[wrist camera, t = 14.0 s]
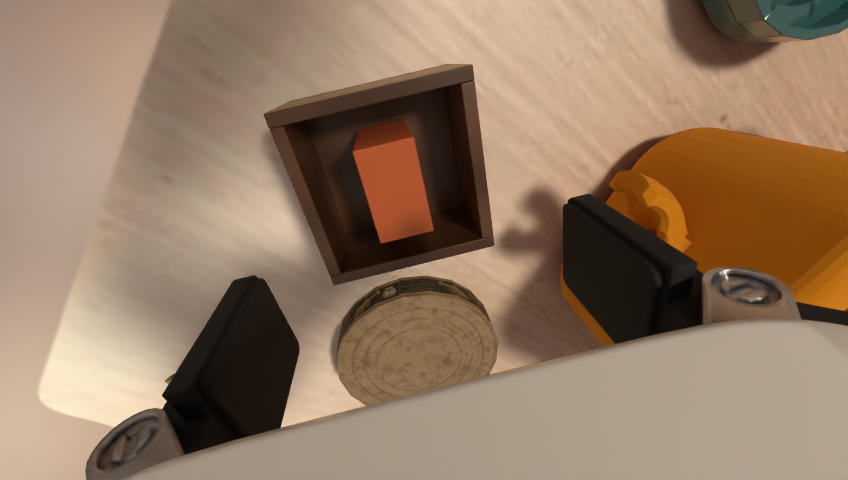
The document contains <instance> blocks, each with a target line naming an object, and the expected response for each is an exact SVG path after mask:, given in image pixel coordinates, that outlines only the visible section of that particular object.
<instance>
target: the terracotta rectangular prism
mask: <svg viewBox="0 0 848 480" xmlns="http://www.w3.org/2000/svg"><path fill="white" fill-rule="evenodd" d="M353 155H354V159H355V162H356V165H357V168H358V172H359V175H360V178H361V181H362V185H363V188H364V191H365V194H366V198H367V201H368V204H369V207H370V211H371V214H372V217H373V220H374V224H375V227H376V230H377V233H378V237H379V240H380V243H386V242H390V241H394V240H398V239H402V238H406V237H410V236H414V235H418V234H422V233H426V232H430V231H433V230H434V228H433V223H432V219H431V214H430V209H429V205H428V200H427V195H426V191H425V186H424V182H423V177H422V172H421V168H420V163H419V158H418V154H417V149H416V144H415V140H414V137H413V135H412V133H411V131H410V130H409V128H408V126H407V124H406V122H405V120H404V119H400V120H396V121H391V122H387V123H383V124H379V125H375V126H371V127H366V128H362V129H358V130H357V135H356V139H355V144H354V148H353Z"/></svg>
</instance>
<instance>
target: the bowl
mask: <svg viewBox="0 0 848 480" xmlns="http://www.w3.org/2000/svg"><path fill="white" fill-rule="evenodd" d="M701 1H702V3H703V5H704V7H705V9H706V11H707V13H708V15H709V17H710V19H711V21H712V23H713V24H714V26H715V27H716V28H718V29H719V30H720V31H722V32H723V33H724V34H726V35H727V36H728V37H730V38H731V39H733V40H739V41H745V42H752V43H763V42H784V41H804V40H812V39H816V38H820V37H824V36H828V35H832V34H837V33H839V32H841V31H843V30H845V29H847V28H848V0H701Z"/></svg>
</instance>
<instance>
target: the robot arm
mask: <svg viewBox="0 0 848 480" xmlns="http://www.w3.org/2000/svg"><path fill="white" fill-rule="evenodd" d="M697 264H698V262H696V261H695V260H693V259H692V258H690V257H689V256H687V255H685V254H684V253H682V252H681V251H679V250H678V249H676V248H674V247H673V246H671V245H670V244H668V243H667V242H665V241H663V240H662V239H660V238H659V237H657V236H656V235H654V234H652V233H651V232H649V231H648V230H646V229H645V228H643V227H642V226H640V225H638V224H637V223H635V222H634V221H632V220H631V219H629V218H627V217H626V216H624V215H623V214H621V213H620V212H618V211H616V210H615V209H613V208H612V207H610V206H609V205H607V204H605V203H604V202H602V201H601V200H599V199H598V198H596V197H594V196H593V195H591V194H586V195H582V196H578V197H573V198H570V199H569V200H568V204H565V205H564V206H563V279H564V282H565V284H566V286H567V287H568V288H569V289H570V291H571V292H572V293H573V294H574V295H575V297H576V298H577V299H578V300H579V301H580V303H581V304H582V305H583V306H584V307H585V309H586V310H587V311H588V312H589V313H590V314H591V316H592V317H593V318H594V319H595V320H596V322H597V323H598V324H599V325H600V326H601V328H602V329H603V330H604V331H605V332H606V334H607V335H608V336H609V337H610V338H611V340H612V341H613V342H614V343H615V344H614V345H609V346H605V347H601V348H597V349H593V350H589V351H585V352H581V353H576V354H572V355H568V356H564V357H560V358H556V359H552V360H548V361H544V362H540V363H536V364H532V365H528V366H523V367H519V368H515V369H511V370H507V371H503V372H499V373H495V374H491V375H487V376H483V377H479V378H475V379H471V380H467V381H463V382H459V383H455V384H451V385H447V386H443V387H439V388H435V389H431V390H427V391H423V392H419V393H415V394H411V395H407V396H403V397H400V398H396V399H392V400H388V401H384V402H380V403H376V404H372V405H368V406H364V407H360V408H356V409H353V410H349V411H345V412H341V413H337V414H333V415H329V416H325V417H321V418H318V419H314V420H310V421H306V422H302V423H298V424H294V425H290V426H286V427H283V428H280V427H281V423H282V419H283V415H284V411H285V407H286V403H287V399H288V395H289V391H290V387H291V383H292V379H293V375H294V371H295V367H296V363H297V359H298V355H299V343H298V340H297V338H296V337H295V335H294V333H293V331H292V329H291V327H290V325H289V324H288V322H287V320H286V318H285V316H284V314H283V312H282V311H281V309H280V307H279V305H278V303H277V301H276V299H275V298H274V296H273V294H272V292H271V290H270V288H269V286H268V285H267V283H266V281H265V280H264V279H262V278H260V279H259V278H258V277H257V276H255V275H253V276H249V277H245V278H240V279H236V280H234V281H233V282H232V283H231V285H230V287H229V288H228V290H227V291H226V293H225V295H224V296H223V298H222V299H221V301H220V303H219V304H218V306H217V308H216V309H215V311H214V312H213V314H212V316H211V317H210V319H209V320H208V322H207V324H206V325H205V327H204V328H203V330H202V332H201V333H200V335H199V336H198V338H197V340H196V341H195V343H194V345H193V346H192V348H191V349H190V351H189V353H188V354H187V356H186V357H185V359H184V361H183V362H182V364H181V365H180V367H179V369H178V370H177V372H176V373H175V375H174V377H173V378H172V380H171V381H170V383H169V385H168V386H167V388H166V390H165V391H164V393H163V394H162V396H163V397H164V398H165V400H166V401H167V402H166V404H165V406H164V407H163V409H158V408H153V409H147V410H144V411H142V412H139V413H137V414H135V415H133V416H131V417H129V418H128V419H126V420H124V421H123V422H122V423H120V424H119V425H118V426H116V427H115V428H114V429H112V430H111V431H110V432H109V433H108V434H107V435H106V436H105V437H104V438H103V439H102V440H101V441H100V442H99V444H98V445H97V446H96V447H95V449H94V450H93V452H92V453H91V455H90V457H89V459H88V461H87V465H86V480H848V312H847V311H842V310H837V309H832V308H826V307H821V306H816V305H811V304H805V303H800V302H796V301H795V298H794V295H793V293H792V291H791V290H790V288H789V287H788V286H787V285H786V284H784V283H783V282H782V281H780V280H779V279H777V278H775V277H773V276H771V275H769V274H766V273H763V272H760V271H757V270H753V269H748V268H742V267H719V268H715V269H712V270H709V271H708V272H706V273H705V274H704V273H702V272H701V271H699V270H697Z"/></svg>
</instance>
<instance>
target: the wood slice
mask: <svg viewBox="0 0 848 480" xmlns="http://www.w3.org/2000/svg"><path fill="white" fill-rule="evenodd" d="M497 349H498V340H497V337H496V334H495V331H494V328H493V325H492V323H491V321H490V319H489V316H488V314H487V312H486V310H485V308H484V305H483V304H482V303H481V302H480V301H479V300H478V299H477V297H476V296H475V295H474V294H473V293H472V292H471V291H470V290H468V289H466V288H465V287H463V286H461V285H459V284H457V283H455V282H453V281H451V280H447V279H441V278H436V277H430V276H419V277H409V278H400V279H397V280H394V281H392V282H389V283H386V284H384V285H381V286H378V287H376V288H374V289H373V290H372V291H370V292H369V293H368V294H366V295H365V296H363V297H362V298H361V299H359V300H358V301H357V302H356V303H355V304H354V306H353V307H352V308H351V310H350V311H349V313H348V314H347V315H346V317H345V318H344V320H343V324H342V328H341V332H340V336H339V342H338V350H337V358H336V363H337V368H338V373H339V378H340V381H341V382H342V384H343V385H344V386H345V388H346V389H347V391H348V392H349V393H350V395H351V396H353V397H354V398H356V399H357V400H359V401H360V402H362V403H363V404H365V405H366V406H368V405H372V404H376V403H380V402H384V401H388V400H392V399H396V398H400V397H403V396H407V395H411V394H415V393H419V392H423V391H427V390H431V389H435V388H439V387H443V386H447V385H451V384H455V383H459V382H463V381H467V380H471V379H475V378H479V377H483V376H487V375H489V374H490V372H491V370H492V368H493V366H494V364H495V362H496V359H497Z"/></svg>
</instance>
